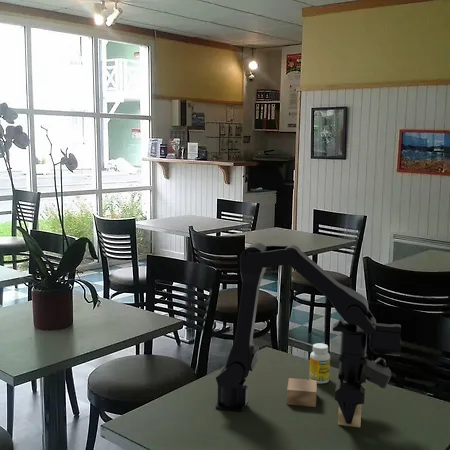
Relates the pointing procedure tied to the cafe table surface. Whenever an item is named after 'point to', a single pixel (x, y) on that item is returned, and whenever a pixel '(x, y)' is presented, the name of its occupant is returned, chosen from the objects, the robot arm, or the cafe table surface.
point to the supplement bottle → (320, 363)
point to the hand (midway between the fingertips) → (349, 415)
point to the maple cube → (356, 418)
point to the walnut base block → (301, 392)
